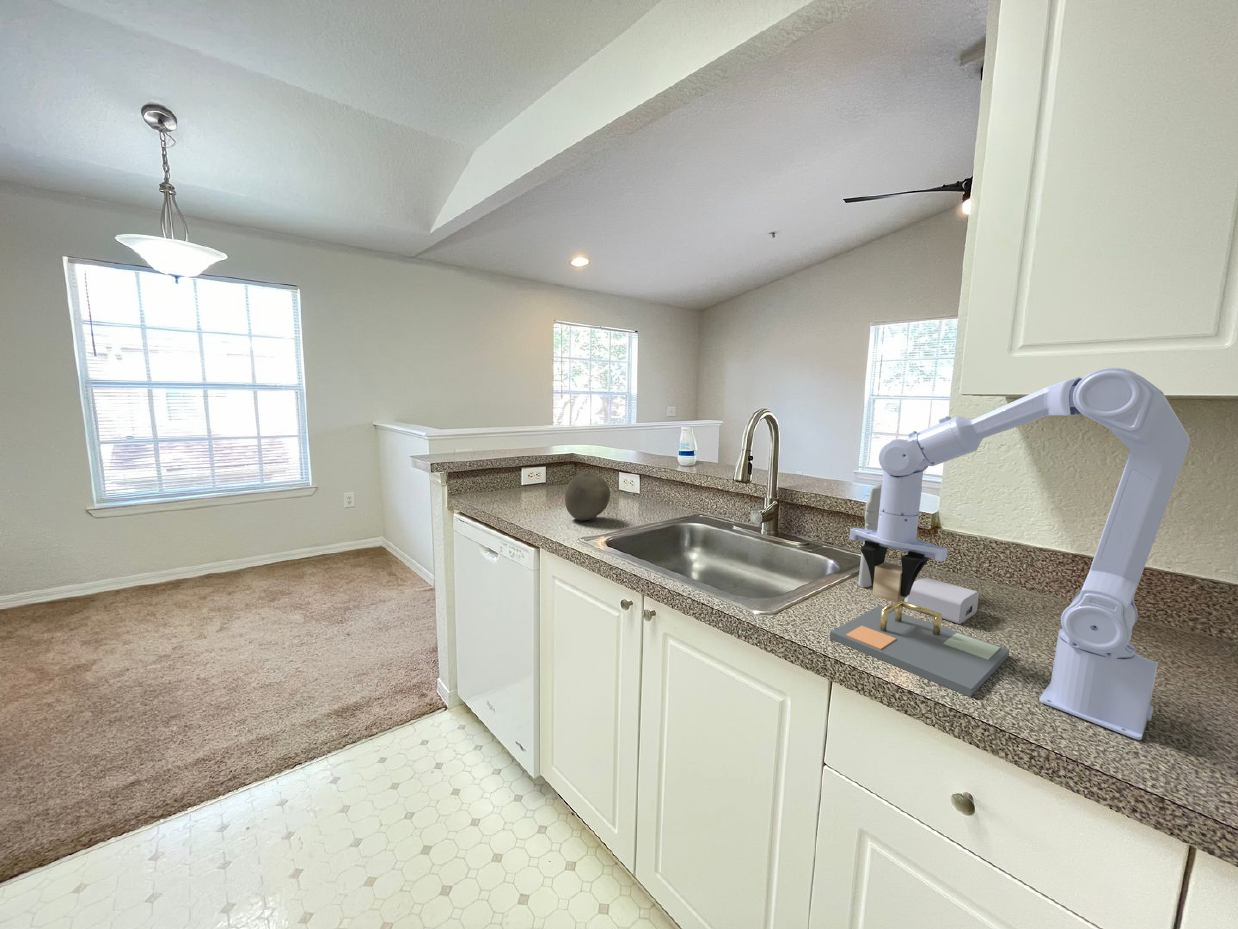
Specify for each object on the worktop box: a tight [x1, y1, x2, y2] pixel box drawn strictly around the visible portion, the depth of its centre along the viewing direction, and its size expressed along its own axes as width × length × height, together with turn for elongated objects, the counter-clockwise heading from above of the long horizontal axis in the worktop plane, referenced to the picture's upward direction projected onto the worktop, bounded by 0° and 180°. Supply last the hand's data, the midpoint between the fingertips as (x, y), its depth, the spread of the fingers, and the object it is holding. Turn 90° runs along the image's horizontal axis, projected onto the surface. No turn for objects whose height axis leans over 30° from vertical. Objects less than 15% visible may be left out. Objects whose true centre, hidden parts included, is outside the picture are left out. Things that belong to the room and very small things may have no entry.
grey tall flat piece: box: [857, 483, 886, 589], centre depth 107 cm, size 11×4×22 cm, turn 130°
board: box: [829, 605, 1010, 698], centre depth 80 cm, size 20×18×1 cm
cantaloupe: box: [564, 472, 611, 522], centre depth 155 cm, size 14×14×15 cm
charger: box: [903, 577, 980, 625], centre depth 97 cm, size 5×9×15 cm
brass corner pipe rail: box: [880, 600, 943, 636], centre depth 82 cm, size 7×7×4 cm
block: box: [871, 561, 908, 603], centre depth 83 cm, size 4×4×5 cm
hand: (890, 590), depth 83 cm, fingers closed on block, 4 cm apart
